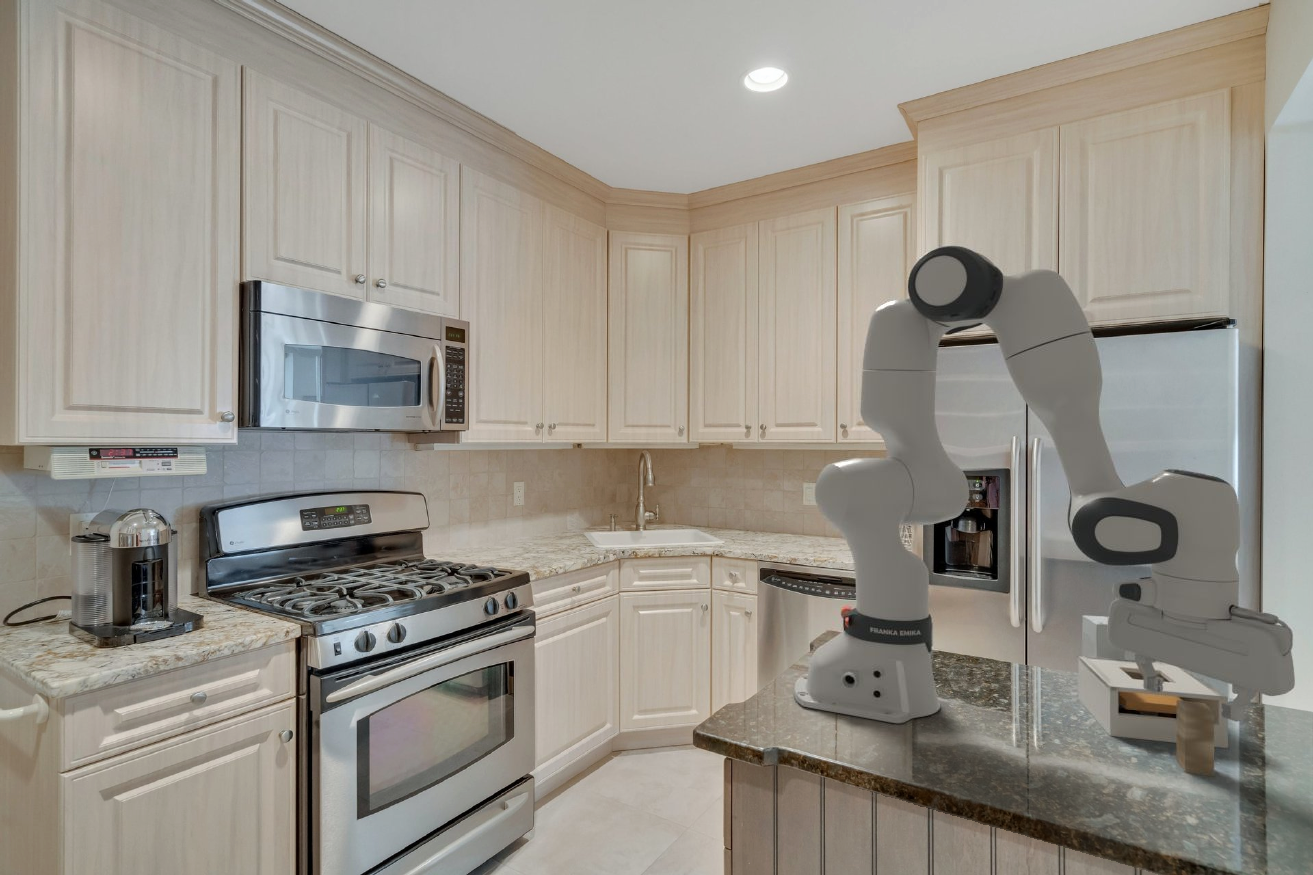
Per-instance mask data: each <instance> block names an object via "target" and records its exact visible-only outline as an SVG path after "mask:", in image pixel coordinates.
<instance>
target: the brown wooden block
mask: <svg viewBox="0 0 1313 875" xmlns="http://www.w3.org/2000/svg"><path fill="white" fill-rule="evenodd" d="M1176 719H1177V743H1176V762H1177V764H1178V765H1179V766H1180V768H1181V769H1182V770H1183V771H1184V772H1185V773H1190V774H1191V773H1192V774H1198V775H1205V776H1211V777H1215V747H1214V711H1212V710H1211V709H1210V708H1209V707H1208V706H1207V705H1206V704H1205V703H1198V702H1189V701H1180V700H1177V714H1176Z"/></svg>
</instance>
